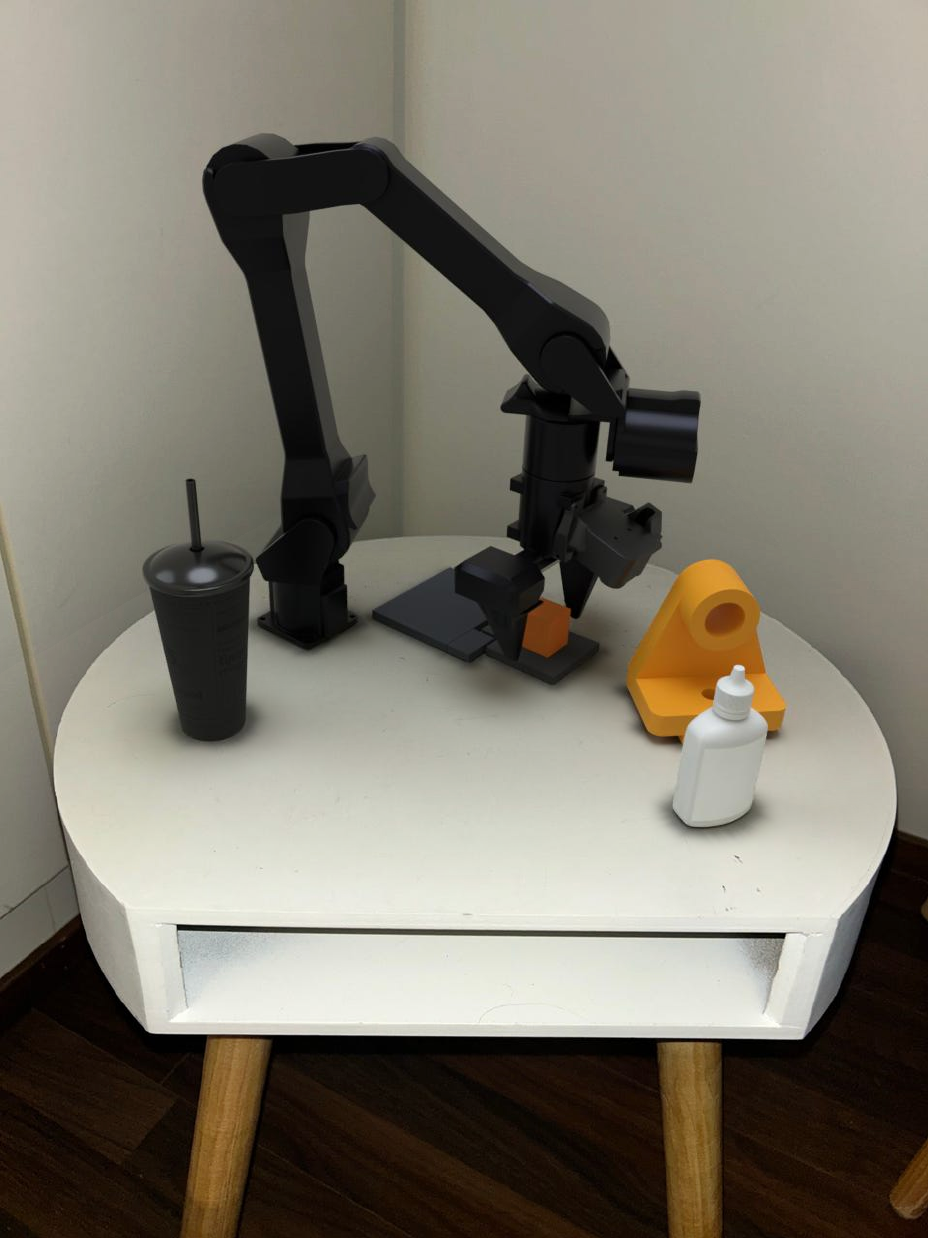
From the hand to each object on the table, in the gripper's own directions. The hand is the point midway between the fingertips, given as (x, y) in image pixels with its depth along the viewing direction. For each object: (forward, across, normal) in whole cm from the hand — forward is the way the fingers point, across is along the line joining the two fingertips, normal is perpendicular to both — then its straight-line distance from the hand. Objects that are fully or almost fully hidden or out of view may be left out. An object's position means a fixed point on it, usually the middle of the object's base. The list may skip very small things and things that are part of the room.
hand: (543, 637), depth 94 cm
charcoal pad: (+2, 0, +9) cm, 9 cm away
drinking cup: (+2, -25, +13) cm, 28 cm away
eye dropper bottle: (+2, -9, -21) cm, 23 cm away
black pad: (+2, 0, 0) cm, 2 cm away
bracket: (+2, +1, -15) cm, 15 cm away
